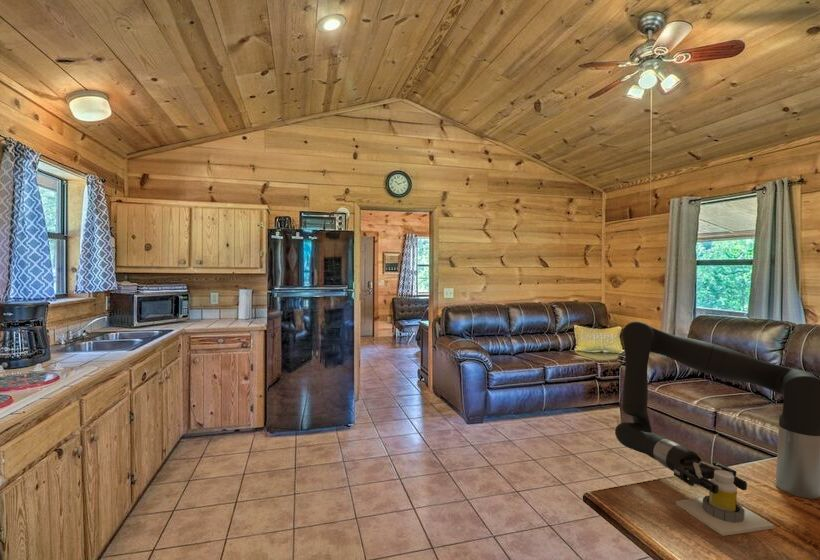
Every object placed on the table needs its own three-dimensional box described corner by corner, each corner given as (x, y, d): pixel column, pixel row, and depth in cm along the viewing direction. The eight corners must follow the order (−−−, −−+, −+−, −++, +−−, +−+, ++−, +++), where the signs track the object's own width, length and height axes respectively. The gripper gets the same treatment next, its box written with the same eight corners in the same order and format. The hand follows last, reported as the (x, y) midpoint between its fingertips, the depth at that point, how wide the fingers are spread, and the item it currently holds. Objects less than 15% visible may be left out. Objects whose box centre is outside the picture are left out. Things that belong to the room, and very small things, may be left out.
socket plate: (722, 498, 112) (723, 487, 112) (774, 528, 99) (774, 516, 99) (675, 503, 109) (676, 493, 109) (722, 535, 96) (723, 524, 96)
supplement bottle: (740, 520, 101) (742, 480, 101) (715, 517, 102) (717, 477, 102) (728, 507, 106) (730, 469, 106) (704, 504, 107) (706, 467, 107)
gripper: (655, 446, 116) (708, 475, 100) (697, 442, 119) (755, 470, 103) (654, 472, 116) (706, 506, 101) (696, 468, 119) (754, 500, 104)
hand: (731, 488), depth 102 cm, fingers open, 8 cm apart
